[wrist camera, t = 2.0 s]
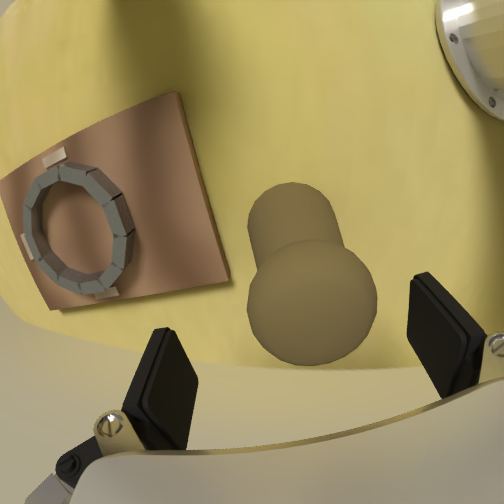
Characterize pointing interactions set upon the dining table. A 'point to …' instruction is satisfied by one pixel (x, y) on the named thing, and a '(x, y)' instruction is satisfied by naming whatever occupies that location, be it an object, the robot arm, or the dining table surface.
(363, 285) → the cork
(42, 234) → the hub ring
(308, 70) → the dining table surface
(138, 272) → the board
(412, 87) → the dining table surface
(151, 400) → the robot arm
